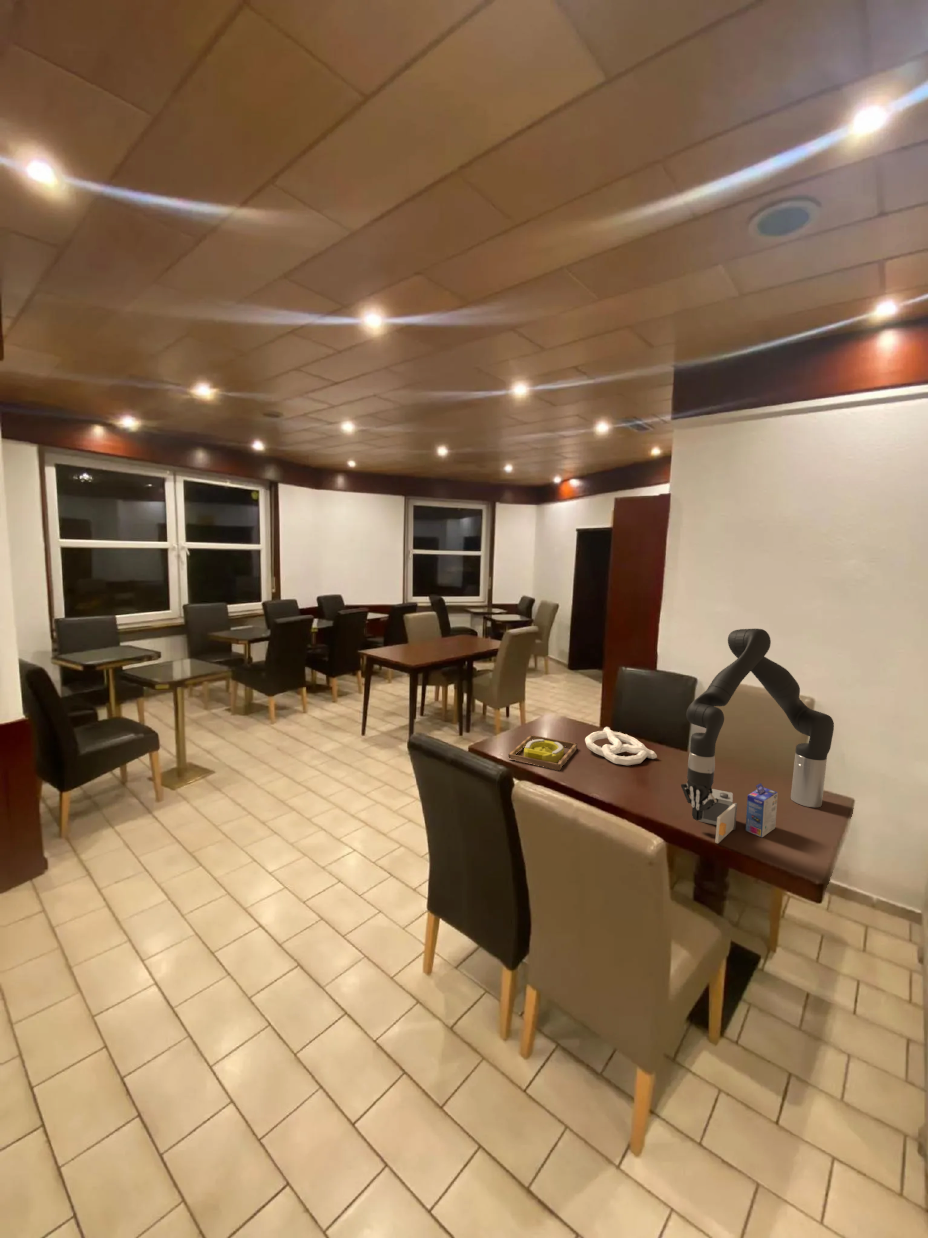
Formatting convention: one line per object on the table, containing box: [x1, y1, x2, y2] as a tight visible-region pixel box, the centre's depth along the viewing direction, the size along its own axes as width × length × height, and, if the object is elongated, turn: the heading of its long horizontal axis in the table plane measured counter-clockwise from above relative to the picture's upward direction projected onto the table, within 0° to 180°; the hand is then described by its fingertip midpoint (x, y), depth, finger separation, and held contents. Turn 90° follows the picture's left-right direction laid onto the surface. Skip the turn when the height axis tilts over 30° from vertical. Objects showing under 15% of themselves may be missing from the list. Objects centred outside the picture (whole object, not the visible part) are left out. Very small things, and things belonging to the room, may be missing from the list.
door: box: [715, 802, 738, 844], centre depth 157 cm, size 2×14×8 cm, turn 133°
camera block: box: [698, 788, 734, 826], centre depth 167 cm, size 7×9×10 cm
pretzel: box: [584, 726, 658, 766], centre depth 223 cm, size 28×24×6 cm
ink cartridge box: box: [745, 782, 779, 838], centre depth 161 cm, size 10×6×14 cm, turn 127°
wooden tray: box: [508, 734, 578, 771], centre depth 221 cm, size 27×22×2 cm
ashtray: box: [523, 739, 565, 763], centre depth 218 cm, size 16×21×5 cm
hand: (697, 819), depth 161 cm, fingers closed
